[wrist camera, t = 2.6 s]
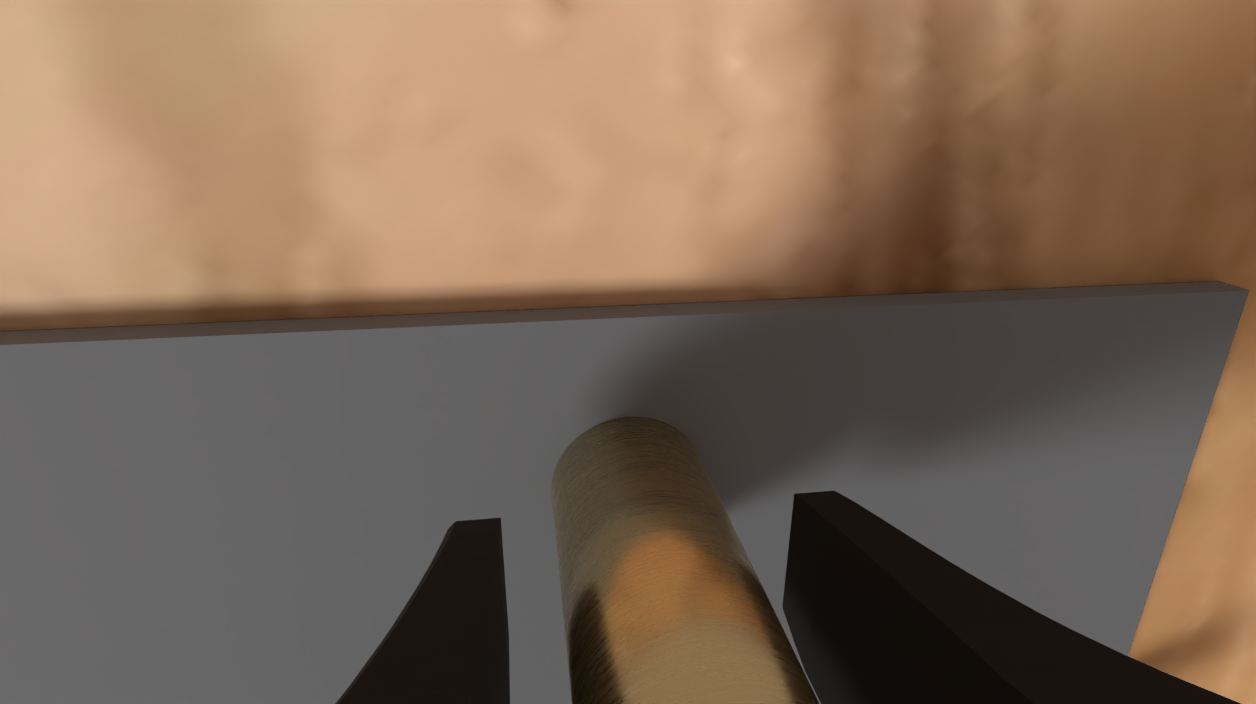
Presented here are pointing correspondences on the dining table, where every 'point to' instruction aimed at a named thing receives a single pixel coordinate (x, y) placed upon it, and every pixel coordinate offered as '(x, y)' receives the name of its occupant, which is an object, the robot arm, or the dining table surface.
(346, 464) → the mat
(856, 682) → the robot arm
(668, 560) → the hinge pin
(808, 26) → the dining table surface
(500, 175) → the dining table surface
